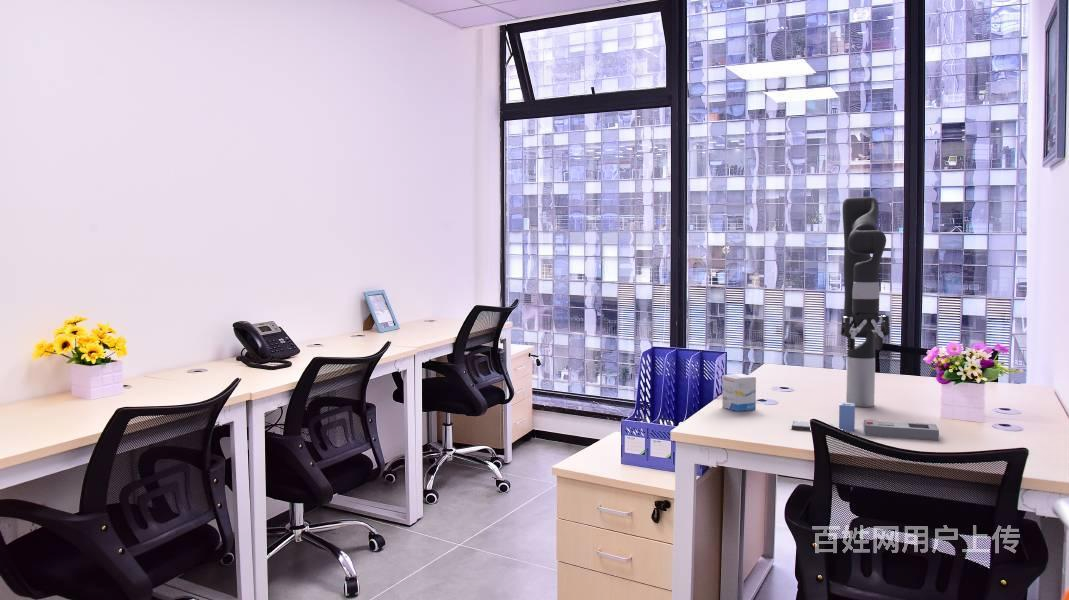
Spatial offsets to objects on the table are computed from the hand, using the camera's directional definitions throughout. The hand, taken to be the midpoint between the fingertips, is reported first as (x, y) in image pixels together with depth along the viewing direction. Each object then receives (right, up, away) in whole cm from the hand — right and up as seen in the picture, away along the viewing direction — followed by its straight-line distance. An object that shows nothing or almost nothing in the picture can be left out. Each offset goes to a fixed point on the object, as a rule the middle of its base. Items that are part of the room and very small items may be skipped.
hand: (864, 350), depth 237 cm
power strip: (+10, -26, -1) cm, 28 cm away
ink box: (-28, -23, +39) cm, 53 cm away
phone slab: (-13, -25, +8) cm, 29 cm away
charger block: (-3, -25, +7) cm, 26 cm away
